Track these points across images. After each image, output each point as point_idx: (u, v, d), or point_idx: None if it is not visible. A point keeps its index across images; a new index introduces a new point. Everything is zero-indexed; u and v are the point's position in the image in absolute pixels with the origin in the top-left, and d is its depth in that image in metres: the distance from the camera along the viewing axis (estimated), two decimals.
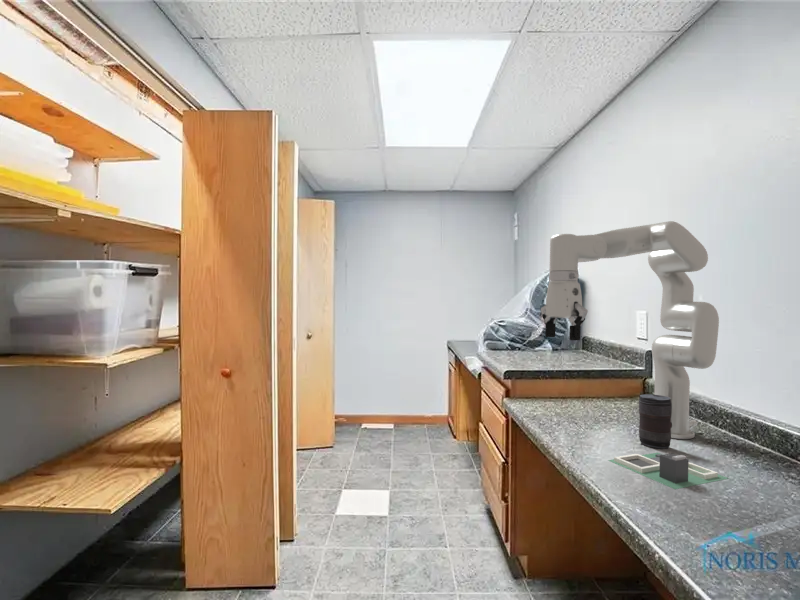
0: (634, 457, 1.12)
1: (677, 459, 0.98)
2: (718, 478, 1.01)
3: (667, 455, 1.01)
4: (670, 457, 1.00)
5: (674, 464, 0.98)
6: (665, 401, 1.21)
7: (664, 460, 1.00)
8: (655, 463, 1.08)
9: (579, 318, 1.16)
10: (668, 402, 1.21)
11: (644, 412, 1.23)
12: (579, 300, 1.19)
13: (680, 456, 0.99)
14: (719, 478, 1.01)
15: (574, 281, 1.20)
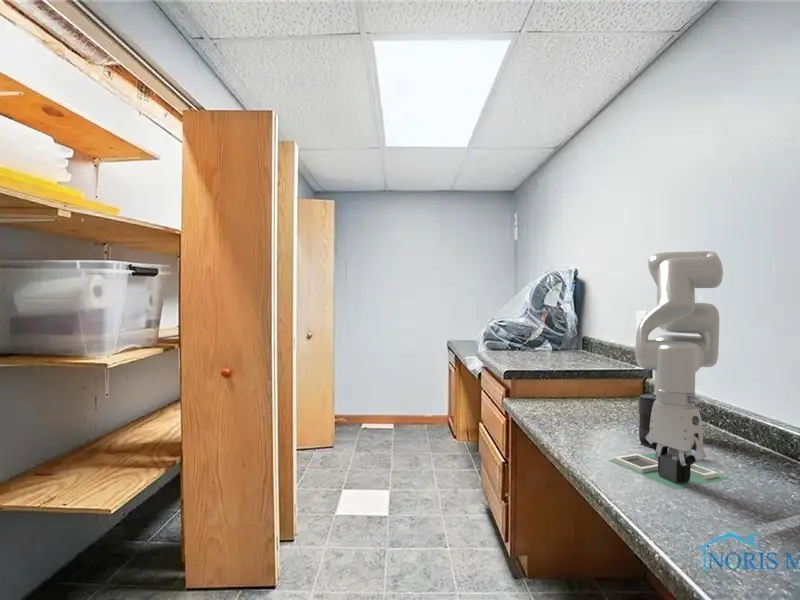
0: (634, 457, 1.12)
1: (677, 459, 0.98)
2: (718, 478, 1.01)
3: (667, 455, 1.01)
4: (670, 457, 1.00)
5: (674, 464, 0.98)
6: None
7: (664, 460, 1.00)
8: (655, 463, 1.08)
9: (692, 459, 0.95)
10: None
11: (644, 412, 1.23)
12: (700, 431, 0.96)
13: None
14: (719, 478, 1.01)
15: (692, 406, 0.97)
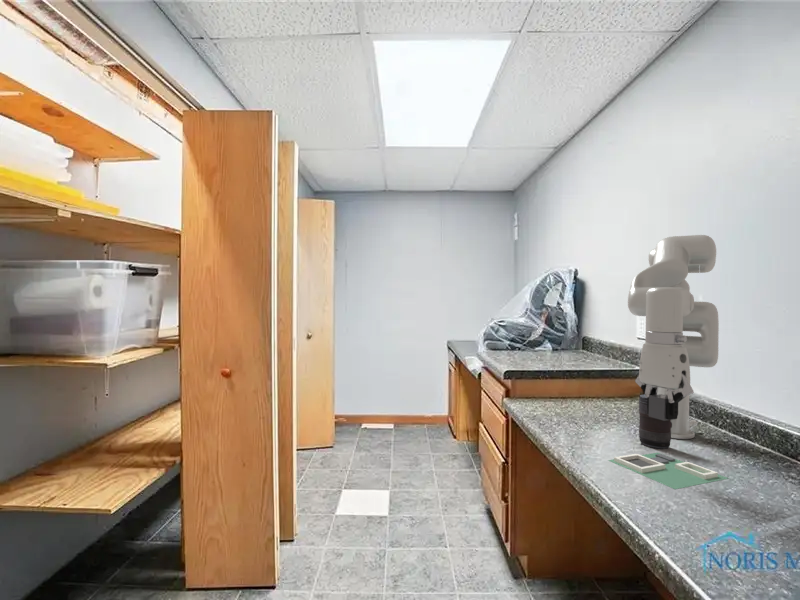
0: (634, 457, 1.12)
1: (665, 397, 1.01)
2: (718, 478, 1.01)
3: (656, 395, 1.04)
4: (659, 396, 1.03)
5: (663, 402, 1.01)
6: None
7: (653, 399, 1.03)
8: (655, 463, 1.08)
9: (679, 395, 0.98)
10: None
11: (644, 412, 1.23)
12: (687, 368, 0.99)
13: None
14: (719, 478, 1.01)
15: (680, 345, 1.00)
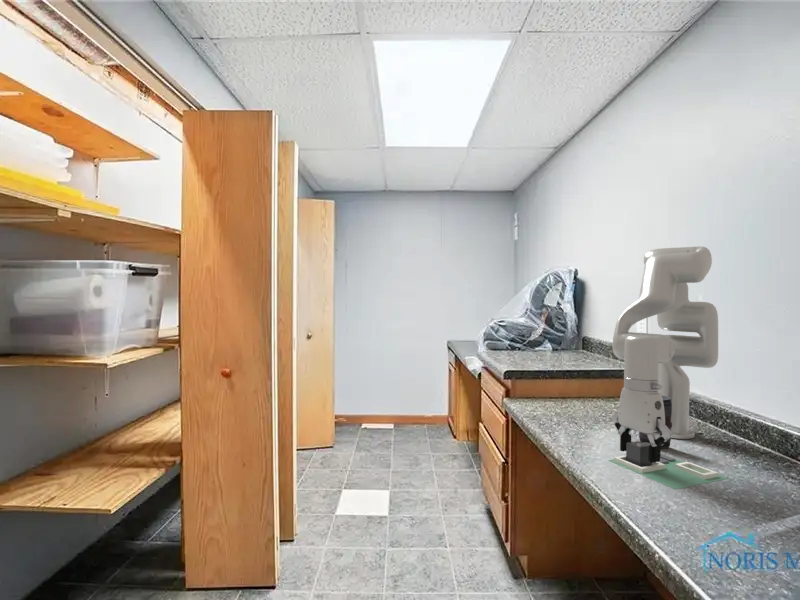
0: None
1: (641, 446, 1.06)
2: (718, 478, 1.01)
3: (633, 442, 1.10)
4: (635, 444, 1.08)
5: (638, 450, 1.06)
6: (665, 401, 1.21)
7: (630, 447, 1.09)
8: (655, 463, 1.08)
9: (661, 440, 1.02)
10: (668, 402, 1.21)
11: None
12: (662, 414, 1.04)
13: (644, 443, 1.07)
14: (719, 478, 1.01)
15: (655, 392, 1.05)
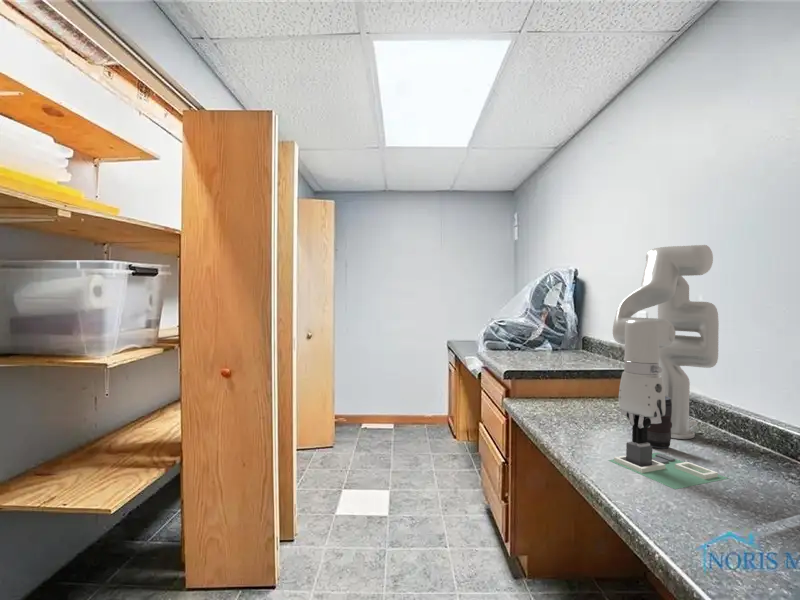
0: None
1: (641, 446, 1.06)
2: (718, 478, 1.01)
3: (633, 442, 1.10)
4: (635, 444, 1.08)
5: (638, 450, 1.06)
6: (665, 401, 1.21)
7: (630, 447, 1.09)
8: (655, 463, 1.08)
9: (648, 421, 1.05)
10: (668, 402, 1.21)
11: None
12: (662, 397, 1.04)
13: (644, 443, 1.07)
14: (719, 478, 1.01)
15: (656, 375, 1.05)
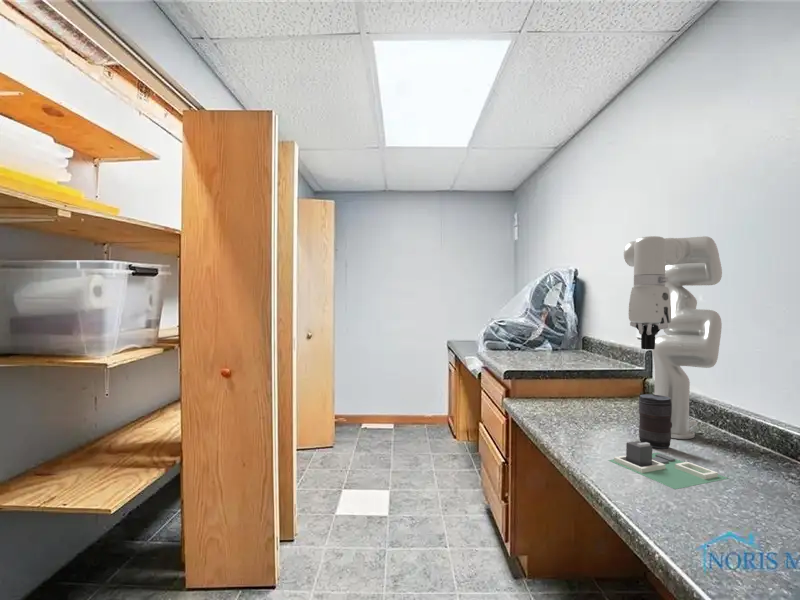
0: None
1: (641, 446, 1.06)
2: (718, 478, 1.01)
3: (633, 442, 1.10)
4: (635, 444, 1.08)
5: (638, 450, 1.06)
6: (665, 401, 1.21)
7: (630, 447, 1.09)
8: (655, 463, 1.08)
9: (655, 327, 1.16)
10: (668, 402, 1.21)
11: (644, 412, 1.23)
12: (669, 305, 1.15)
13: (644, 443, 1.07)
14: (719, 478, 1.01)
15: (663, 285, 1.16)
